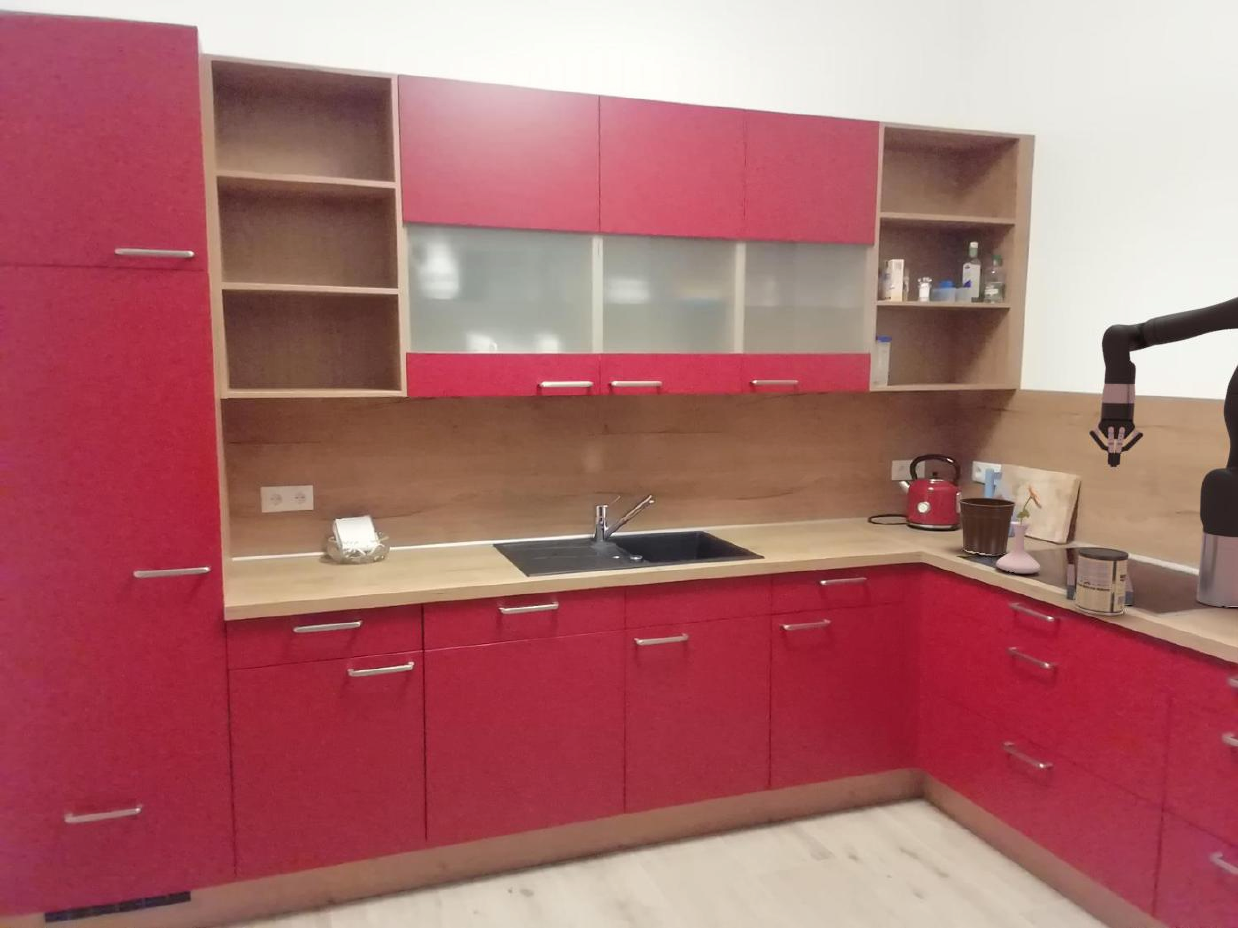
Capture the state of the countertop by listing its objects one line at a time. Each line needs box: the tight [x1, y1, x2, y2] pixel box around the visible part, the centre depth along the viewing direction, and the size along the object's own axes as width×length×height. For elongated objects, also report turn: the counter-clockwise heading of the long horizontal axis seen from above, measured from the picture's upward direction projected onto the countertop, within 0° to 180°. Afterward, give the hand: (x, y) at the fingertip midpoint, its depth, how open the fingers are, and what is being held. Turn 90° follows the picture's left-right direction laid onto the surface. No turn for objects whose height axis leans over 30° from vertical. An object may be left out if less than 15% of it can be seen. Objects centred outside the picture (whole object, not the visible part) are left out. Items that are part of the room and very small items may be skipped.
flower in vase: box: [995, 482, 1044, 575], centre depth 241 cm, size 13×11×25 cm
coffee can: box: [1074, 546, 1129, 617], centre depth 203 cm, size 10×10×14 cm
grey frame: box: [1066, 563, 1135, 606], centre depth 222 cm, size 14×26×4 cm, turn 152°
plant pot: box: [957, 497, 1017, 555], centre depth 266 cm, size 16×16×16 cm
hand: (1113, 466), depth 229 cm, fingers closed
